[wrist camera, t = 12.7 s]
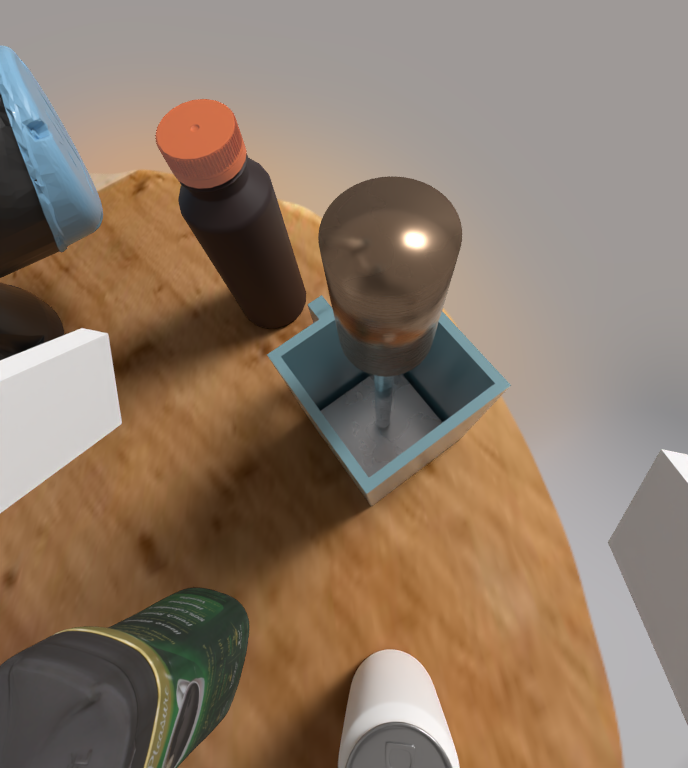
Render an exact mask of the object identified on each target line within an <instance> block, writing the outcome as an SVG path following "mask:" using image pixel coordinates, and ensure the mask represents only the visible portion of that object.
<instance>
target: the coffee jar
mask: <svg viewBox="0 0 688 768" xmlns="http://www.w3.org/2000/svg"><path fill="white" fill-rule="evenodd" d="M248 637H249V620H248V616H247V613H246V611H245V609H244V607H243V606H242V605H241V604H240V603H239V602H238V601H237V600H236V599H234V598H232V597H231V596H229V595H226V594H224V593H220V592H217V591H215V590H210V589H205V588H187V589H184V590H181V591H179V592H177V593H174V594H172V595H170V596H168V597H166V598H164V599H162V600H160V601H159V602H157V603H155V604H153V605H152V606H150V607H148V608H146V609H145V610H143V611H141V612H139V613H137V614H135V615H133V616H131V617H129V618H127V619H125V620H123V621H121V622H119V623H117V624H115V625H113V626H111V627H109V628H104V627H75V628H71V629H67V630H63V631H60V632H58V633H56V634H54V635H52V636H50V637H48V638H46V639H45V640H43V641H41V642H39V643H37V644H35V645H33V646H32V647H29V648H27V649H25V650H23V651H21V652H19V653H18V654H16V655H14V656H13V657H11V658H10V659H8V660H7V661H5V662H4V663H3V664H2V665H1V666H0V768H177V767H178V766H179V765H180V764H181V763H182V762H183V761H184V759H185V758H186V757H187V756H188V755H189V754H190V753H191V752H192V751H193V750H194V749H195V748H196V747H197V746H198V745H199V744H200V743H201V742H202V741H203V740H204V739H205V738H206V737H207V736H208V735H209V734H210V733H211V732H212V731H213V730H214V729H215V727H216V726H217V725H218V724H219V723H220V722H221V721H222V719H223V718H224V717H225V715H226V714H227V712H228V710H229V708H230V706H231V703H232V701H233V698H234V696H235V692H236V690H237V687H238V684H239V680H240V677H241V673H242V668H243V665H244V661H245V656H246V651H247V645H248Z"/></svg>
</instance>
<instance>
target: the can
mask: <svg viewBox="0 0 688 768" xmlns="http://www.w3.org/2000/svg"><path fill="white" fill-rule="evenodd" d="M338 768H460V767H459V761H458V757H457V753H456V750H455V747H454V743H453V740H452V737H451V734H450V731H449V728H448V725H447V722H446V719H445V716H444V714H443V711H442V708H441V705H440V702H439V699H438V696H437V693H436V691H435V688H434V685H433V683H432V680H431V678H430V676H429V674H428V673H427V671H426V670H425V668H424V667H423V666H422V664H421V663H420V662H419V661H418V660H416V659H415V658H414V657H412V656H411V655H409V654H407V653H405V652H402V651H399V650H382V651H379V652H376V653H374V654H372V655H370V656H369V657H368V658H366V659H365V660H364V661H363V662H362V664H361V665H360V666H359V668H358V669H357V671H356V673H355V675H354V677H353V680H352V684H351V688H350V693H349V698H348V703H347V709H346V714H345V720H344V726H343V732H342V737H341V743H340V750H339V758H338Z"/></svg>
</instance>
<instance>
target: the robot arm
mask: <svg viewBox="0 0 688 768" xmlns="http://www.w3.org/2000/svg"><path fill="white" fill-rule="evenodd" d="M102 219H103V209H102V204H101V201H100V198H99V195H98V193H97V190H96V188H95V186H94V183H93V181H92V179H91V177H90V175H89V173H88V171H87V169H86V167H85V165H84V163H83V161H82V159H81V157H80V155H79V153H78V151H77V149H76V147H75V145H74V144H73V142H72V140H71V138H70V136H69V135H68V133H67V131H66V129H65V127H64V125H63V124H62V122H61V120H60V118H59V117H58V115H57V113H56V111H55V110H54V108H53V106H52V105H51V103H50V101H49V100H48V98H47V96H46V95H45V93H44V92H43V90H42V88H41V87H40V85H39V84H38V82H37V81H36V79H35V78H34V76H33V75H32V73H31V72H30V70H29V69H28V68H27V66H26V65H25V64H24V63H23V62H22V61H21V60H20V59H19V57H18V55H17V54H16V53H15V52H14V51H13V50H12V49H10V48H9V47H6V46H0V278H1V277H4V276H6V275H8V274H10V273H12V272H15V271H17V270H19V269H21V268H24V267H26V266H28V265H30V264H32V263H35V262H37V261H39V260H41V259H43V258H46V257H48V256H50V255H52V254H54V253H57V252H59V251H60V252H64V251H65V250H66V249H67V246H69V245H71V244H72V243H74V242H76V241H78V240H80V239H82V238H84V237H86V236H88V235H90V234H91V233H93V232H95V231H96V230H97V229H98V228H99V227H100V225H101V222H102ZM121 424H122V420H121V414H120V407H119V401H118V394H117V388H116V381H115V375H114V368H113V362H112V355H111V349H110V342H109V336H108V333H103V332H98V331H94V330H89V329H84V328H81V329H78V330H76V331H73V332H71V333H68V334H66V335H64V330H63V326H62V323H61V321H60V319H59V317H58V315H57V314H56V312H55V311H54V310H53V309H52V308H51V307H50V306H49V305H48V304H46V303H45V302H43V301H42V300H40V299H39V298H37V297H36V296H34V295H33V294H31V293H29V292H28V291H25V290H23V289H21V288H18V287H15V286H11V285H7V284H3V283H0V513H1V512H3V511H4V510H5V509H7V508H8V507H9V506H11V505H12V504H13V503H15V502H16V501H18V500H19V499H20V498H22V497H23V496H24V495H26V494H27V493H28V492H30V491H31V490H33V489H34V488H35V487H37V486H38V485H39V484H41V483H42V482H43V481H45V480H46V479H47V478H49V477H50V476H52V475H53V474H54V473H56V472H57V471H58V470H60V469H61V468H62V467H64V466H65V465H66V464H68V463H69V462H71V461H72V460H73V459H75V458H76V457H77V456H79V455H80V454H81V453H83V452H84V451H85V450H87V449H88V448H90V447H91V446H92V445H94V444H95V443H96V442H98V441H99V440H100V439H102V438H103V437H105V436H106V435H107V434H109V433H110V432H111V431H113V430H114V429H115V428H117V427H118V426H119V425H121ZM608 543H609V546H610V548H611V550H612V552H613V555H614V557H615V559H616V562H617V564H618V566H619V569H620V571H621V573H622V575H623V578H624V580H625V582H626V585H627V587H628V589H629V592H630V594H631V596H632V598H633V601H634V603H635V605H636V607H637V610H638V612H639V614H640V616H641V619H642V621H643V623H644V626H645V628H646V630H647V632H648V635H649V637H650V640H651V642H652V644H653V646H654V649H655V651H656V653H657V656H658V658H659V660H660V663H661V665H662V667H663V669H664V671H665V674H666V676H667V678H668V681H669V683H670V685H671V688H672V690H673V692H674V695H675V697H676V699H677V701H678V704H679V706H680V708H681V711H682V713H683V715H684V718H685V720H686V722H687V724H688V455H686V454H682V453H676V452H672V451H667V450H663V449H661V451H660V452H659V454H658V456H657V458H656V459H655V461H654V463H653V464H652V466H651V468H650V470H649V471H648V473H647V475H646V477H645V479H644V480H643V482H642V484H641V486H640V487H639V489H638V491H637V493H636V494H635V496H634V498H633V500H632V501H631V503H630V505H629V507H628V508H627V510H626V512H625V514H624V515H623V517H622V519H621V521H620V523H619V524H618V526H617V528H616V530H615V531H614V533H613V535H612V536H611V538H610V540H609V542H608Z"/></svg>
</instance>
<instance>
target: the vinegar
mask: <svg viewBox="0 0 688 768" xmlns="http://www.w3.org/2000/svg"><path fill="white" fill-rule="evenodd" d="M156 131H157V132H156V135H155V136H156V142H157V143H156V144H157V146H158V148H159V150H160V152H161V153H162V155H163V157H164V159H165V160H166V162H167V164H168V165H169V167H170V169H171V170H172V172H173V174H174V175H175V177H176V178H177V179H178V181H179V182H180V183H181V188H180V194H179V205H180V210H181V214H182V216H183V217H184V219H185V221H186V222H187V224H188V225H189V227H190V228H191V230H192V232H193V233H194V235H195V236H196V238H197V240H198V241H199V243H200V244H201V246H202V247H203V249H204V251H205V252H206V254H207V255H208V257H209V258H210V260H211V262H212V263H213V265H214V266H215V268H216V269H217V271H218V273H219V274H220V276H221V277H222V279H223V281H224V282H225V284H226V285H227V287H228V288H229V290H230V292H231V293H232V295H233V296H234V298H235V299H236V301H237V303H238V304H239V306H240V307H241V309H242V310H243V312H244V313H245V315H246V316H247V318H248V319H249V320H250V321H252V322H253V323H254V324H256V325H258V326H261V327H264V328H279V327H282V326H285V325H288V324H289V323H291V322H292V321H294V320H295V319H296V318H297V317H298V316H299V314H300V313H301V312H302V310H303V308H304V305H305V302H306V291H305V288H304V285H303V281H302V278H301V275H300V272H299V269H298V265H297V262H296V259H295V256H294V253H293V249H292V246H291V243H290V240H289V237H288V233H287V230H286V227H285V224H284V221H283V217H282V214H281V211H280V208H279V205H278V201H277V198H276V195H275V192H274V189H273V186H272V182H271V179H270V176H269V174H268V173H267V172H266V171H265V170H264V168H263V167H262V166H261V165H260V164H259V163H257V162H255V161H253V160H252V159H250V158H248V156H247V153H246V148H245V145H244V142H243V139H242V136H241V133H240V130H239V127H238V124H237V121H236V118H235V116H234V114H233V113H232V111H231V110H230V109H229V108H228V107H226V105H224V104H221V103H219V102H217V101H214V100H208V99H200V100H192V101H189V102H185V103H182V104H180V105H179V106H177V107H175V108H173V109H172V110H171V111H169V112H168V113H167V114H166V115H165V116H164V117H163V119H162V120H161V122H160V124H159V125H158V127H157V130H156Z"/></svg>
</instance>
